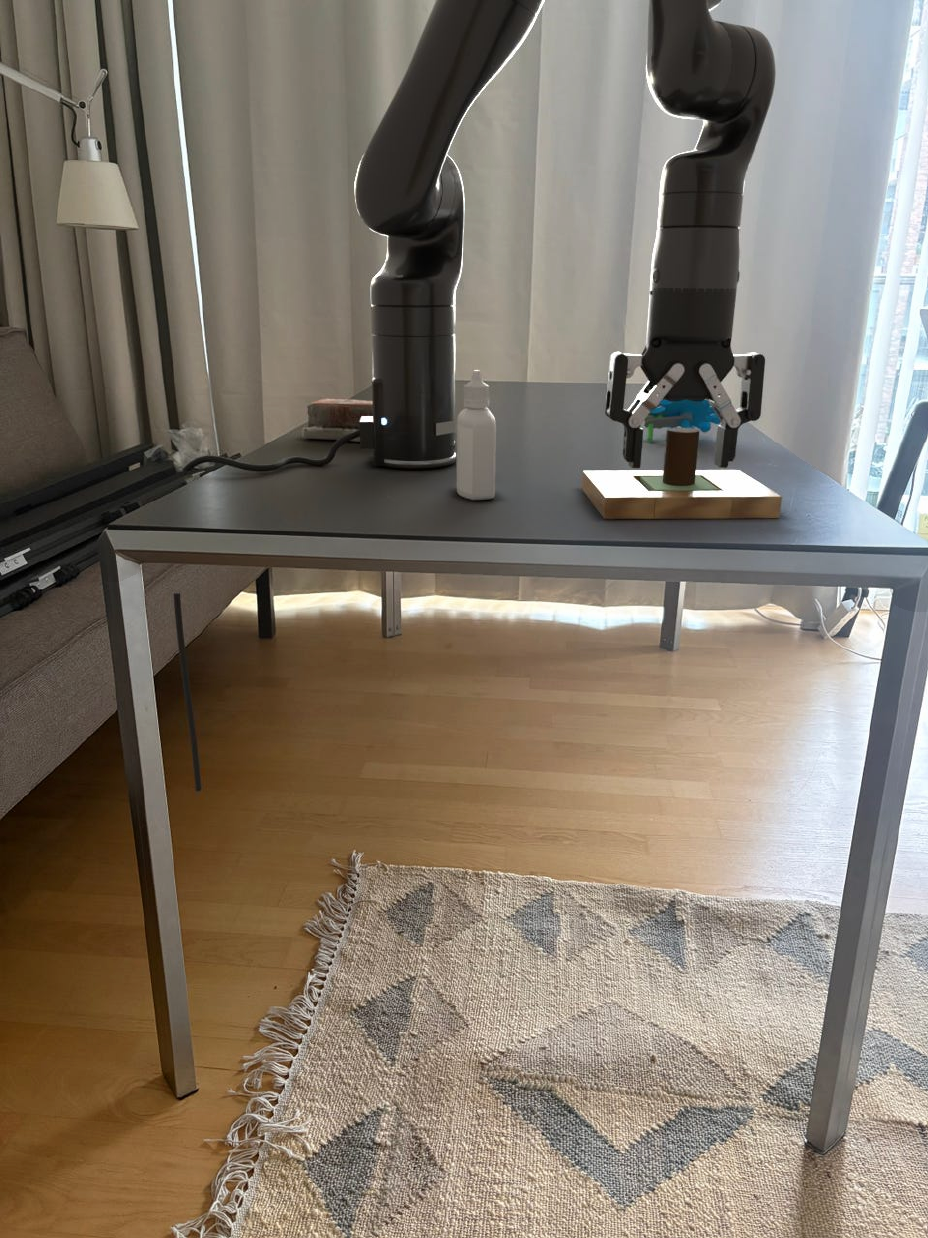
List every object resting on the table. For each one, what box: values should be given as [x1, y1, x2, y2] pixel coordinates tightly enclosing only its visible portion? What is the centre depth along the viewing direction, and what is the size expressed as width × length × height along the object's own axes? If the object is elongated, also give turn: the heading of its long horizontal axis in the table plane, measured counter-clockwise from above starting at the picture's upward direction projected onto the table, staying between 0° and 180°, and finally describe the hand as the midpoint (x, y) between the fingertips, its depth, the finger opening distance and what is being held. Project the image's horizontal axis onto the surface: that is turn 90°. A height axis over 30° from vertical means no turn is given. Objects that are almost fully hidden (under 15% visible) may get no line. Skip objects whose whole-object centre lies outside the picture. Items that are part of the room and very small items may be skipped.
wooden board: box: [581, 469, 783, 520], centre depth 89 cm, size 16×12×2 cm
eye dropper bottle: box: [456, 369, 497, 501], centre depth 90 cm, size 4×6×12 cm
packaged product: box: [301, 398, 373, 443], centre depth 124 cm, size 18×5×10 cm
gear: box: [643, 399, 721, 442], centre depth 122 cm, size 11×6×10 cm
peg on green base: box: [640, 427, 719, 491], centre depth 88 cm, size 6×6×7 cm
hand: (677, 466), depth 88 cm, fingers open, 8 cm apart
